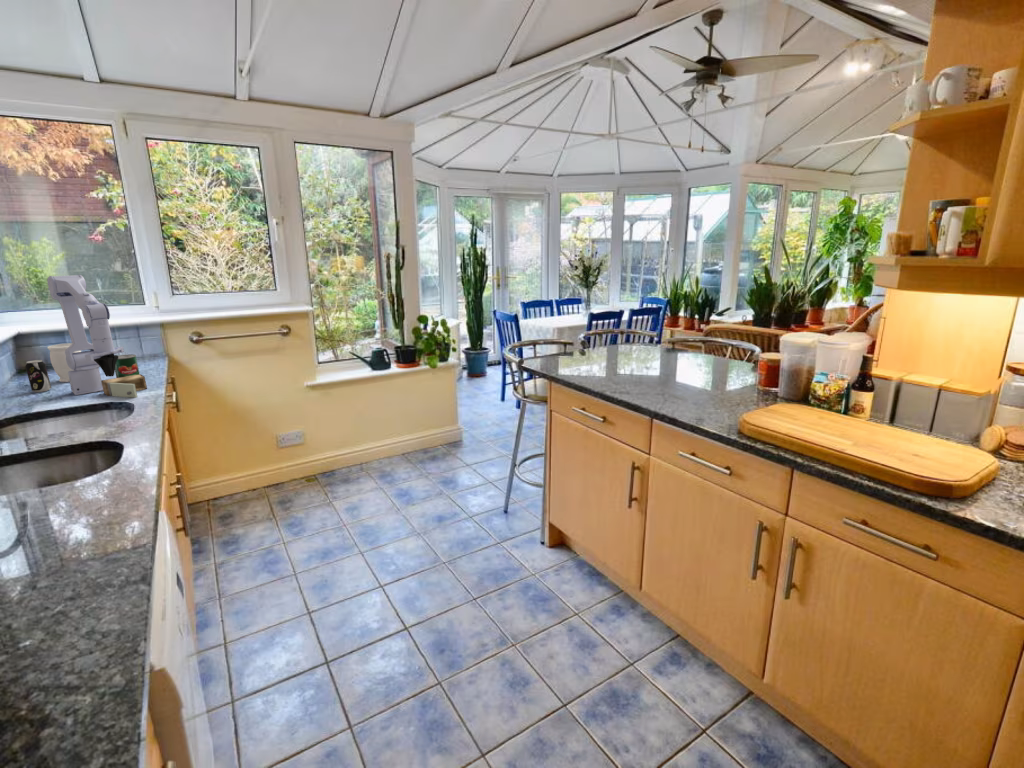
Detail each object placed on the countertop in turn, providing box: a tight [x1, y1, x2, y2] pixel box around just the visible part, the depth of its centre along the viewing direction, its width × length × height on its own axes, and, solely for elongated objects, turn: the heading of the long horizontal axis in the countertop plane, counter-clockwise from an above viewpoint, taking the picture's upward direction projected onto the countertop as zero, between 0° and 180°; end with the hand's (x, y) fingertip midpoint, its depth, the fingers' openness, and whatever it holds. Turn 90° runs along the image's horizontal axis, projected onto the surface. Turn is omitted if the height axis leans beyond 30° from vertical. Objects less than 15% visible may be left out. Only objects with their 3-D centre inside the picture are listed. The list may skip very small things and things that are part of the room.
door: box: [107, 383, 138, 398], centre depth 189 cm, size 12×2×5 cm, turn 78°
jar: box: [47, 342, 82, 383], centre depth 213 cm, size 11×10×15 cm
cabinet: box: [101, 373, 148, 397], centre depth 197 cm, size 13×6×5 cm, turn 138°
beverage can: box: [25, 359, 52, 393], centre depth 197 cm, size 6×6×12 cm
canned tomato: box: [114, 354, 140, 378], centre depth 209 cm, size 8×8×11 cm
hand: (110, 376), depth 183 cm, fingers closed
